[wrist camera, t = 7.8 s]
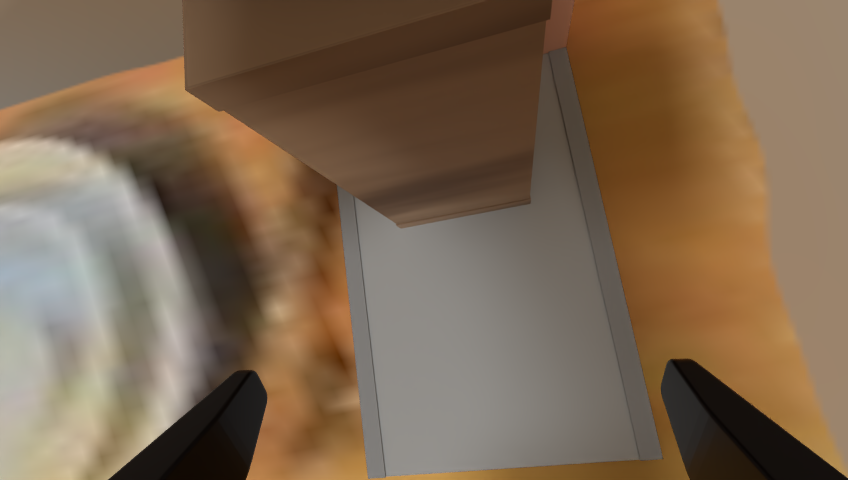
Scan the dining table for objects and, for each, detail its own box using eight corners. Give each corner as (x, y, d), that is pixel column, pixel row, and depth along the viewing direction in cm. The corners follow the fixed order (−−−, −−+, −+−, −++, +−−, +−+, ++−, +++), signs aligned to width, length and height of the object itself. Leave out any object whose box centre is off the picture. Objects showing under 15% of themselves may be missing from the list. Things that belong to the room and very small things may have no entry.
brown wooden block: (530, 203, 18) (553, -20, 6) (400, 228, 19) (184, 90, 7) (506, 81, 19) (481, -328, 7) (385, 112, 21) (175, -188, 8)
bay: (659, 454, 16) (702, 502, 12) (371, 474, 18) (332, 519, 14) (559, 31, 20) (569, -36, 16) (331, 93, 22) (290, 48, 18)
